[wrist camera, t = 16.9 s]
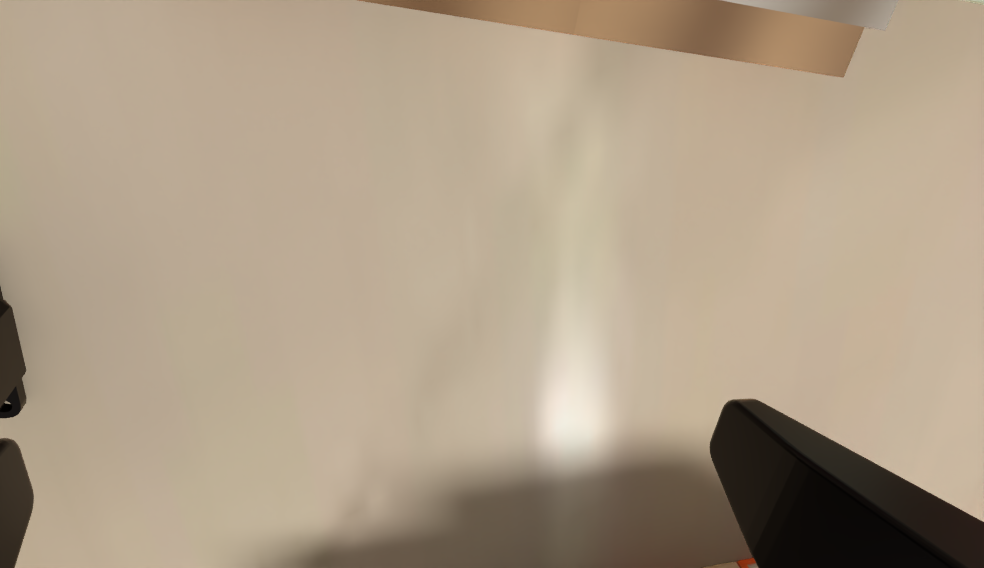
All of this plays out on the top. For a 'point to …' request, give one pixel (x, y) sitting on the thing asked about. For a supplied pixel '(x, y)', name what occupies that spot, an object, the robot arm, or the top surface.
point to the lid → (976, 1)
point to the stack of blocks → (737, 564)
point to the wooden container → (697, 25)
